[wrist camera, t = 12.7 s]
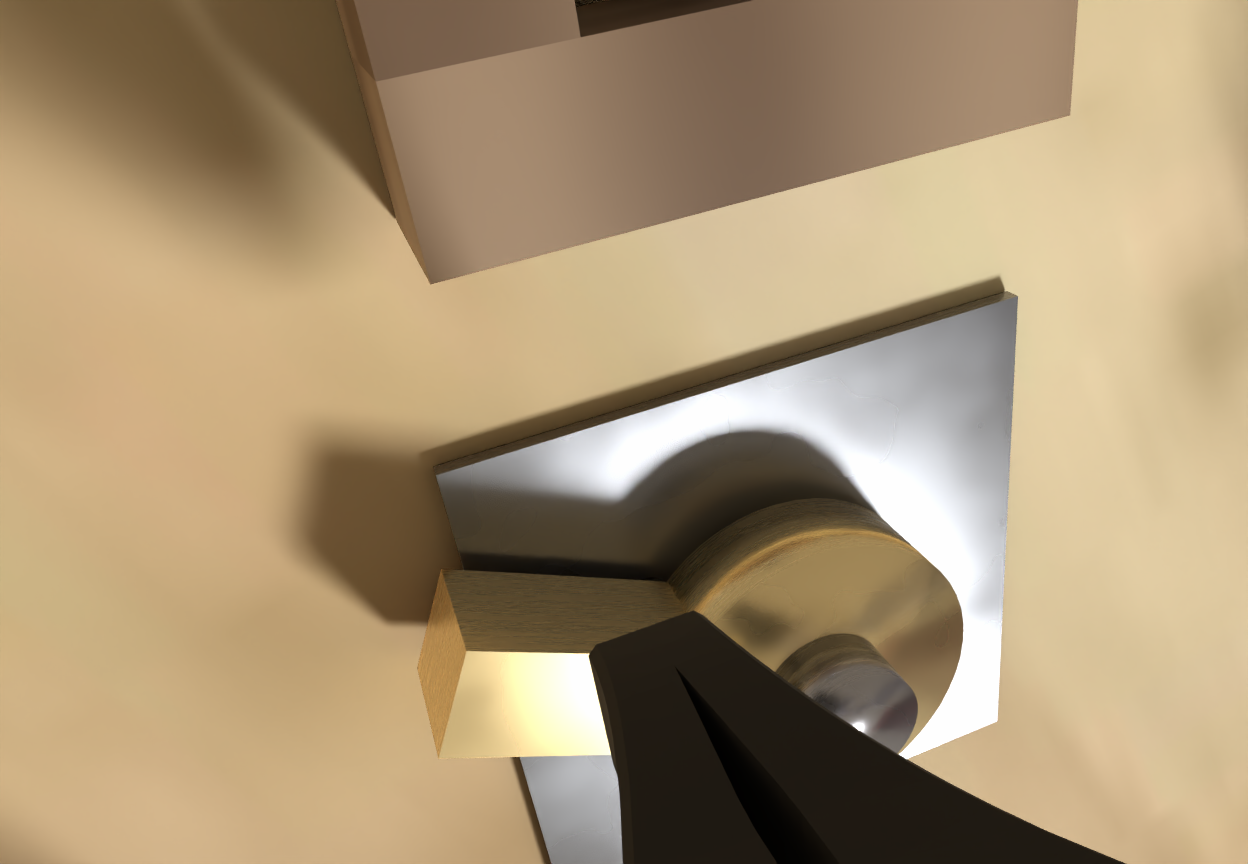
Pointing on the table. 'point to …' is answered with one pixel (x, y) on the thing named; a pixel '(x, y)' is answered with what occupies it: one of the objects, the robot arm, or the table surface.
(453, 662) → the ring nut
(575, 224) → the socket block
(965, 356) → the plate
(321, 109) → the table surface
